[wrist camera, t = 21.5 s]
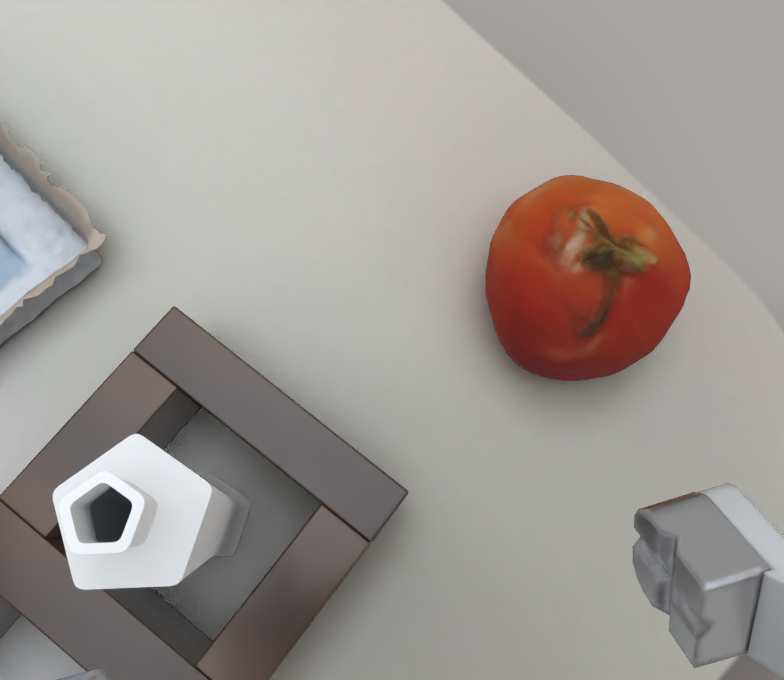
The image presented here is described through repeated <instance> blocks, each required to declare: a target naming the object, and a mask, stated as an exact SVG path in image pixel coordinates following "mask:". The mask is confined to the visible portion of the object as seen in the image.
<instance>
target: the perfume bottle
mask: <svg viewBox="0 0 784 680" xmlns="http://www.w3.org/2000/svg"><path fill="white" fill-rule="evenodd" d="M53 503H54V507H55V511H56V515H57V519H58V523H59V527H60V531H61V535H62V539H63V543H64V547H65V551H66V555H67V559H68V563H69V567H70V571H71V575H72V579H73V582H74V584H75V586H76V587H77V588H79V589H83V590H90V589H114V588H139V587H163V586H174V585H176V584H178V583H179V582H180V581H182V580H183V579H184V578H186V577H187V576H188V575H189V574H191V573H192V572H193V571H194V570H196V569H197V568H198V567H200V566H201V565H202V564H203V563H205V562H206V561H207V560H208V559H210V558H211V557H223V556H232V555H233V554H234V553H235V551H236V549H237V546H238V543H239V540H240V537H241V534H242V531H243V528H244V525H245V522H246V519H247V516H248V513H249V510H250V506H251V504H250V501H249V500H248V499H247V498H245V497H244V496H243V495H241V494H240V493H238V492H237V491H236V490H234V489H233V488H231V487H230V486H228V485H227V484H226V483H224V482H223V481H221V480H220V479H219V478H217V477H216V476H214V475H213V474H211V473H207V474H205V475H204V476H202V477H200V476H198V475H197V474H196V473H194V472H193V471H191V470H190V469H189V468H187V467H186V466H184V465H183V464H182V463H180V462H179V461H177V460H176V459H175V458H173V457H172V456H170V455H169V454H168V453H166V452H165V451H163V450H162V449H160V448H159V447H158V446H156V445H155V444H153V443H152V442H151V441H149V440H148V439H146V438H145V437H144V436H142V435H140V434H133V435H131V436H129V437H127V438H126V439H124V440H123V441H122V442H120V443H119V444H117V445H116V446H114V447H113V448H112V449H110V450H109V451H107V452H106V453H105V454H103V455H102V456H100V457H99V458H98V459H96V460H95V461H93V462H92V463H90V464H89V465H88V466H86V467H85V468H83V469H82V470H81V471H79V472H78V473H76V474H75V475H74V476H72V477H71V478H69V479H68V480H66V481H65V482H64V483H62V484H61V485H59V486H58V487H57V488H56V489H55V490H54V492H53Z"/></svg>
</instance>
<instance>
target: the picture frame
mask: <svg viewBox="0 0 784 680" xmlns="http://www.w3.org/2000/svg"><path fill="white" fill-rule="evenodd" d="M50 174H51V173H50V172H47V171H43V170H40V159H39V158H38V157H37V156H36V154H35V153H34V152H33V151H32V150H31V149H29V148H28V147H27V146H25V147H19V146H18V145H17V144H16V143H15V142H14V141H13V139H12V137H11V136H10V134H9V132H8V130H7V127H6V124H5V123H4V125H3V126H2V127H1V128H0V345H1V344H2V343H3V342H5V341H6V339H8V338H9V337H11V336H12V335H13V334H14V333H15V332H17V331H19V330H20V329H22V328H23V327H24V326H25V325H26V324H28V323H29V322H31V321H33V320H34V319H35V318H36V317H37V316H38V315H39V314H40V312H41V311H43V310H44V309H45V308H47V307H48V306H49V305H50V304H51V303H52V302H54V301H55V300H56V299H57V298H58V297H59V296H61V295H62V294H64V293H65V292H66V291H68V290H69V289H71V288H73V287H75V286H76V285H77V284H78V283H80V282H81V281H82V280H83V279H84V278H85V277H86V276H87V275H89V274H90V273H91V272H92V271H93V270H95V269H96V268H98V267H99V266H100V264H101V263H102V259H101V257H100V255H99V254H98V253H97V252H96V251H95V249H97V248H98V247H99V246H100V245H101V244H102V242H103V241H104V239H105V237H106V235H105V234H100V233H99V232H98V231H97V230H96V229H94V228H93V227H92V224H91V221H90V218H89V215H88V213H87V210H86V208H85V207H84V206H83V205H82V204H81V203H80V202H79V200H78V199H77V198H76V197H75V196H73V195H72V194H71V193H69V192H68V191H67V190H65V189H64V188H63V187H57V186H51V184H50V183H49V181H48V179H47V177H48V176H49V175H50Z"/></svg>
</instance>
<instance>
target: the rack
mask: <svg viewBox="0 0 784 680" xmlns="http://www.w3.org/2000/svg"><path fill="white" fill-rule="evenodd" d="M200 406H202V407H203V408H204V409H205V410H206V411H208V412H209V413H210V414H211V415H213V416H214V417H215V418H216V419H218V420H219V421H220V422H221V423H223V424H224V425H225V426H226V427H228V428H229V429H230V430H231V431H232V432H234V433H235V434H236V435H237V436H239V437H240V438H241V439H242V440H244V441H245V442H246V443H247V444H249V445H250V446H251V447H252V448H254V449H255V450H256V451H257V452H258V453H260V454H261V455H262V456H263V457H265V458H266V459H267V460H268V461H270V462H271V463H272V464H273V465H275V466H276V467H277V468H278V469H280V470H281V471H282V472H283V473H284V474H286V475H287V476H288V477H289V478H291V479H292V480H293V481H294V482H296V483H297V484H298V485H299V486H301V487H302V488H303V489H304V490H306V491H307V492H308V493H309V494H310V495H312V496H313V497H314V498H315V499H317V500H318V501H319V502H320V503H322V504H323V505H322V504H321V505H320V506H319V507H318V509H317V510H316V511H315V512H314V514H313V515H312V516H311V518H310V519H309V520H308V521H307V523H306V524H305V525H304V527H303V528H302V529H301V530H300V532H299V533H298V534H297V535H296V537H295V538H294V539H293V541H292V542H291V543H290V544H289V546H288V547H287V548H286V550H285V551H284V552H283V553H282V555H281V556H280V557H279V558H278V560H277V561H276V562H275V564H274V565H273V566H272V567H271V569H270V570H269V571H268V572H267V574H266V575H265V576H264V578H263V579H262V580H261V581H260V583H259V584H258V585H257V587H256V588H255V589H254V590H253V592H252V593H251V594H250V595H249V597H248V598H247V599H246V601H245V602H244V603H243V604H242V606H241V607H240V608H239V610H238V611H237V612H236V613H235V615H234V616H233V617H232V618H231V620H230V621H229V622H228V624H227V625H226V626H225V627H224V629H223V630H222V631H221V632H220V634H219V635H218V636H217V638H216V639H215V640H214V641H212V640H211V639H210V638H208V637H207V636H206V635H205V634H204V633H202V632H201V631H200V630H199V629H198V628H197V627H195V626H194V625H193V624H192V623H191V622H190V621H188V620H187V619H186V618H185V617H184V616H182V615H181V614H180V613H179V612H178V611H177V610H175V609H174V608H173V607H172V606H171V605H170V604H168V603H167V602H166V601H165V600H164V599H162V598H161V597H160V596H159V595H158V594H157V593H155V592H154V591H153V590H152V589H151V588H149V587H139V588H114V589H90V590H83V589H79V588H77V587H76V586H75V584H74V582H73V579H72V575H71V571H70V567H69V563H68V559H67V555H66V551H65V547H64V543H63V539H62V535H61V531H60V527H59V523H58V519H57V515H56V511H55V507H54V503H53V492H54V490H55V489H56V488H57V487H58V486H59V485H61V484H62V483H64V482H65V481H66V480H68V479H69V478H71V477H72V476H74V475H75V474H76V473H78V472H79V471H81V470H82V469H83V468H85V467H86V466H88V465H89V464H90V463H92V462H93V461H95V460H96V459H98V458H99V457H100V456H102V455H103V454H105V453H106V452H107V451H109V450H110V449H112V448H113V447H114V446H116V445H117V444H119V443H120V442H122V441H123V440H124V439H126V438H127V437H129V436H131V435H133V434H140V435H142V436H144V437H145V438H146V439H148V440H149V441H151V442H152V443H153V444H155V445H156V446H158V447H159V448H160V449H162V450H164V449H165V448H166V446H167V445H168V444H169V443H170V442H171V441H172V439H173V438H174V437H175V436H176V435H177V434H178V433H179V431H180V430H181V429H182V428H183V427H184V426H185V424H186V423H187V422H188V421H189V420H190V419H191V418H192V416H193V415H194V414H195V413H196V412H197V411H198V409H199V408H200ZM407 495H408V491H407V490H406V489H405V488H403V487H402V486H401V485H400V484H398V483H397V482H396V481H395V480H393V479H392V478H391V477H390V476H388V475H387V474H386V473H385V472H383V471H382V470H381V469H379V468H378V467H377V466H376V465H374V464H373V463H372V462H371V461H369V460H368V459H367V458H366V457H364V456H363V455H362V454H361V453H359V452H358V451H357V450H356V449H354V448H353V447H352V446H350V445H349V444H348V443H347V442H345V441H344V440H343V439H342V438H340V437H339V436H338V435H337V434H335V433H334V432H333V431H332V430H330V429H329V428H328V427H327V426H325V425H324V424H323V423H321V422H320V421H319V420H318V419H316V418H315V417H314V416H313V415H311V414H310V413H309V412H308V411H306V410H305V409H304V408H303V407H301V406H300V405H299V404H298V403H296V402H295V401H294V400H292V399H291V398H290V397H289V396H287V395H286V394H285V393H284V392H282V391H281V390H280V389H279V388H277V387H276V386H275V385H274V384H272V383H271V382H270V381H269V380H267V379H266V378H265V377H264V376H262V375H261V374H260V373H258V372H257V371H256V370H255V369H253V368H252V367H251V366H250V365H248V364H247V363H246V362H245V361H243V360H242V359H241V358H240V357H238V356H237V355H236V354H235V353H233V352H232V351H231V350H229V349H228V348H227V347H226V346H224V345H223V344H222V343H221V342H219V341H218V340H217V339H216V338H214V337H213V336H212V335H211V334H209V333H208V332H207V331H206V330H204V329H203V328H202V327H200V326H199V325H198V324H197V323H195V322H194V321H193V320H192V319H190V318H189V317H188V316H187V315H185V314H184V313H183V312H182V311H180V310H179V309H178V308H177V307H172V308H171V309H170V311H169V312H168V313H167V314H166V315H165V316H164V317H163V318H162V319H161V320H160V321H159V323H158V324H157V325H156V326H155V327H154V328H153V329H152V330H151V331H150V332H149V333H148V335H147V336H146V337H145V338H144V339H143V340H142V341H141V342H140V343H139V344H138V345H137V347H136V348H135V349H134V352H131V353H130V354H129V355H128V356H127V357H126V358H125V360H124V361H123V362H122V363H121V364H120V365H119V366H118V367H117V368H116V369H115V371H114V372H113V373H112V374H111V375H110V376H109V377H108V378H107V379H106V380H105V381H104V383H103V384H102V385H101V386H100V387H99V388H98V389H97V390H96V391H95V392H94V393H93V395H92V396H91V397H90V398H89V399H88V400H87V401H86V402H85V403H84V404H83V405H82V407H81V408H80V409H79V410H78V411H77V412H76V413H75V414H74V415H73V416H72V417H71V419H70V420H69V421H68V422H67V423H66V424H65V425H64V426H63V427H62V428H61V429H60V431H59V432H58V433H57V434H56V435H55V436H54V437H53V438H52V439H51V440H50V441H49V443H48V444H47V445H46V446H45V447H44V448H43V449H42V450H41V451H40V452H39V453H38V455H37V456H36V457H35V458H34V459H33V460H32V461H31V462H30V463H29V464H28V465H27V467H26V468H25V469H24V470H23V471H22V472H21V473H20V474H19V475H18V476H17V478H16V479H15V480H14V481H13V482H12V483H11V484H10V485H9V486H8V487H7V488H6V490H5V491H4V492H3V493H2V494H1V495H0V638H1V637H2V636H3V635H4V634H5V632H6V631H7V630H8V629H9V628H10V627H11V625H12V624H13V623H14V622H15V621H16V620H17V619H18V617H19V616H20V615H21V614H22V615H23V616H24V617H25V618H26V619H28V620H29V621H30V622H31V623H32V624H33V625H34V626H36V627H37V628H38V629H39V630H40V631H41V632H42V633H44V634H45V635H46V636H47V637H48V638H49V639H50V640H52V641H53V642H54V643H55V644H56V645H57V646H58V647H60V648H61V649H62V650H63V651H64V652H65V653H66V654H68V655H69V656H70V657H71V658H72V659H73V660H74V661H76V662H77V663H78V664H79V665H80V666H81V667H82V668H84V669H85V670H86V671H87V672H88V671H92V670H95V669H99V668H104V669H105V670H106V672H107V673H108V675H109V676H110V678H111V679H112V680H269V678H270V677H271V676H272V674H273V673H274V672H275V670H276V669H277V668H278V666H279V665H280V664H281V662H282V661H283V660H284V658H285V657H286V656H287V654H288V653H289V652H290V650H291V649H292V648H293V646H294V645H295V644H296V642H297V641H298V640H299V638H300V637H301V636H302V634H303V633H304V632H305V630H306V629H307V628H308V626H309V625H310V624H311V622H312V621H313V620H314V618H315V617H316V616H317V614H318V613H319V612H320V610H321V609H322V608H323V606H324V605H325V604H326V602H327V601H328V600H329V598H330V597H331V596H332V594H333V593H334V592H335V590H336V589H337V588H338V586H339V585H340V584H341V582H342V581H343V580H344V578H345V577H346V576H347V574H348V573H349V572H350V570H351V569H352V568H353V566H354V565H355V564H356V562H357V561H358V560H359V558H360V557H361V556H362V554H363V553H364V552H365V550H366V549H367V548H368V546H369V545H370V542H372V541H373V540H374V538H375V537H376V536H377V535H378V533H379V532H380V531H381V529H382V528H383V527H384V525H385V524H386V523H387V521H388V520H389V519H390V517H391V516H392V515H393V513H394V512H395V511H396V509H397V508H398V507H399V505H400V504H401V503H402V501H403V500H404V499H405V497H406V496H407Z"/></svg>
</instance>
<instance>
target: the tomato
mask: <svg viewBox="0 0 784 680" xmlns="http://www.w3.org/2000/svg"><path fill="white" fill-rule="evenodd" d="M690 279H691V274H690V269H689V265H688V262H687V259H686V256H685V253H684V252H683V250H682V248H681V246H680V244H679V243H678V241H677V239H676V237H675V236H674V234H673V232H672V230H671V229H670V227H669V226H668V224H667V223H666V221H665V220H664V219H663V217H662V216H661V215H660V214H659V213H658V212H657V210H656V209H655V208H654V207H653V206H652V205H651V204H650V203H649V202H648V201H646V200H645V199H643V198H642V197H640V196H638V195H637V194H635V193H633V192H631V191H629V190H627V189H625V188H623V187H621V186H619V185H616V184H613V183H609V182H604V181H600V180H595V179H590V178H587V177H583V176H575V175H570V176H568V175H566V176H560V177H556V178H553V179H551V180H549V181H547V182H545V183H543V184H542V185H540V186H538V187H537V188H535V189H533V190H532V191H530V192H528V193H527V194H525V195H523V196H522V197H520V198H519V199H517V200H516V201H515V202H514V203H513V204H512V205H511V206H510V207H509V208H508V210H507V211H506V213H505V215H504V216H503V218H502V220H501V222H500V224H499V226H498V227H497V229H496V231H495V233H494V235H493V238H492V240H491V243H490V250H489V256H488V262H487V269H486V298H487V301H488V305H489V309H490V312H491V316H492V319H493V323H494V326H495V330H496V332H497V335H498V338H499V340H500V343H501V344H502V346H503V347H504V349H505V350H506V352H507V354H508V355H509V356H510V357H511V358H512V359H513V360H514V361H515V362H516V363H517V364H518V365H519V366H521V367H522V368H523V369H525V370H527V371H529V372H531V373H533V374H536V375H539V376H543V377H546V378H551V379H557V380H564V381H578V380H587V379H593V378H598V377H604V376H609V375H612V374H615V373H617V372H619V371H621V370H623V369H625V368H627V367H628V366H630V365H632V364H633V363H635V362H637V361H638V360H640V359H641V358H643V357H644V356H646V355H648V354H649V353H650V352H652V351H653V350H654V348H655V347H656V346H657V345H658V344H659V342H660V341H661V340H662V339H663V337H664V336H665V334H666V333H667V331H668V329H669V328H670V326H671V325H672V323H673V321H674V320H675V318H676V317H677V315H678V314H679V312H680V310H681V309H682V307H683V305H684V302H685V299H686V296H687V293H688V291H689V288H690Z"/></svg>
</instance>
